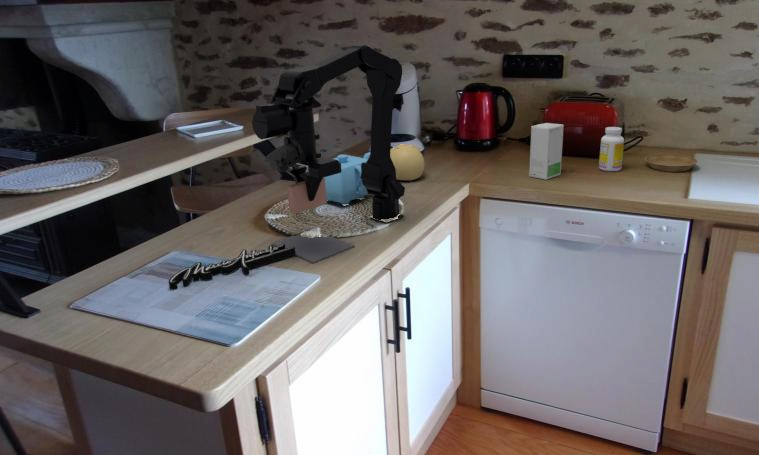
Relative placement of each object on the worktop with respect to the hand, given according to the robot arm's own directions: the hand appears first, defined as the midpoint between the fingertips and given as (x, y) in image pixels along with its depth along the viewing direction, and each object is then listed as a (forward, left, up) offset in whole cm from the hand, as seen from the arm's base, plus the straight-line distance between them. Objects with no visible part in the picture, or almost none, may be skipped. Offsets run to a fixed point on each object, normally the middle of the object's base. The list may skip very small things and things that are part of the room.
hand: (308, 199), depth 131 cm
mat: (0, 0, -11) cm, 11 cm away
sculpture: (-53, -21, -12) cm, 58 cm away
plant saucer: (-112, +36, -12) cm, 118 cm away
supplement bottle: (-99, +23, -12) cm, 102 cm away
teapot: (-30, -20, -12) cm, 38 cm away
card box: (0, 0, -2) cm, 2 cm away
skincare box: (-81, +11, -12) cm, 83 cm away
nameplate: (+19, -3, -11) cm, 22 cm away
